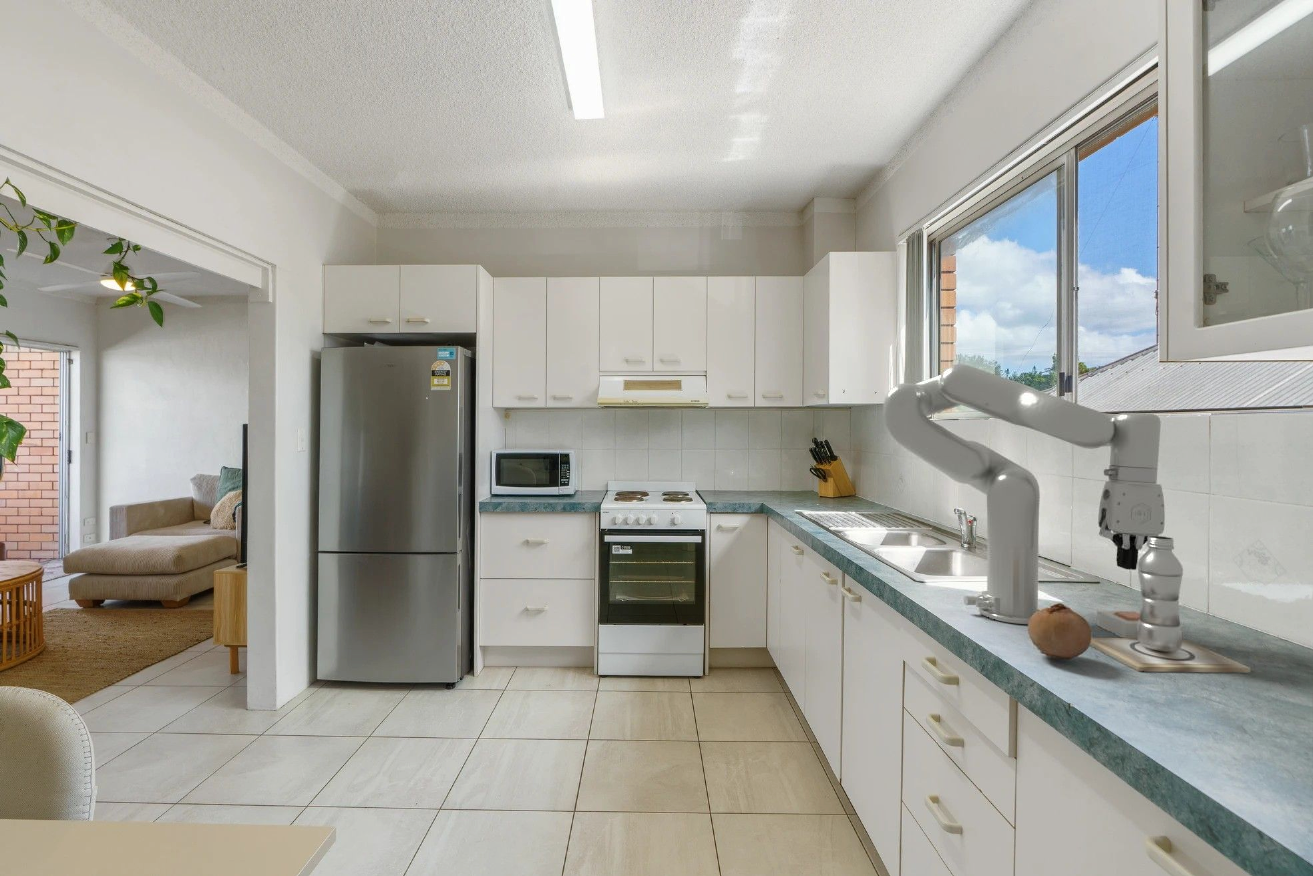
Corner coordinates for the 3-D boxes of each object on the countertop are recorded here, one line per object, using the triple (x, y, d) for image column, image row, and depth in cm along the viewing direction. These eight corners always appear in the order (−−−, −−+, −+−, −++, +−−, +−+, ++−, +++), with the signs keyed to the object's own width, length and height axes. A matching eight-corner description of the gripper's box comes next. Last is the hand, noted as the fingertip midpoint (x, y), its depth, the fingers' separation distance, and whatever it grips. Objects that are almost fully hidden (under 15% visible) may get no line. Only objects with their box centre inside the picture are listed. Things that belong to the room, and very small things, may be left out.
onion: (1069, 674, 103) (1070, 613, 103) (1015, 655, 112) (1016, 599, 111) (1103, 664, 107) (1104, 606, 107) (1049, 646, 116) (1049, 593, 115)
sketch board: (1138, 671, 104) (1138, 665, 104) (1083, 642, 118) (1084, 636, 118) (1250, 672, 103) (1250, 666, 103) (1182, 643, 117) (1182, 637, 117)
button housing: (1125, 638, 120) (1125, 623, 120) (1097, 625, 128) (1097, 610, 128) (1168, 639, 119) (1168, 623, 119) (1137, 625, 127) (1137, 611, 127)
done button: (1128, 631, 122) (1128, 617, 122) (1115, 625, 126) (1115, 611, 125) (1148, 631, 122) (1148, 617, 122) (1134, 625, 125) (1134, 611, 125)
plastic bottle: (1145, 654, 109) (1147, 540, 108) (1129, 641, 115) (1130, 533, 115) (1190, 658, 107) (1192, 541, 107) (1171, 645, 113) (1172, 535, 113)
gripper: (1106, 476, 119) (1100, 571, 120) (1187, 479, 119) (1180, 574, 120) (1081, 472, 127) (1075, 561, 128) (1157, 475, 126) (1150, 565, 127)
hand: (1126, 567), depth 124 cm, fingers closed
